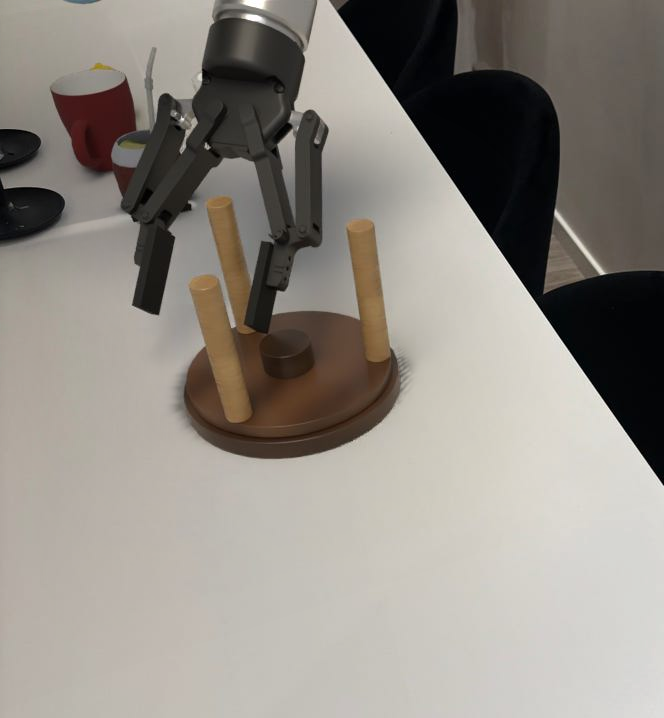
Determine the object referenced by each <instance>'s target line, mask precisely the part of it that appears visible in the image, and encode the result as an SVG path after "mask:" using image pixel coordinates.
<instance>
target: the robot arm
mask: <svg viewBox="0 0 664 718" xmlns="http://www.w3.org/2000/svg"><path fill="white" fill-rule="evenodd" d="M63 1H64V2H67V3H70V4H77V5H88V4H95V3H99V2H100V1H102V0H63ZM317 7H318V0H214V3H213V8H212V11H211V12H212V13H211V18H212V21H213V23H211V24H210V26H209V28H208V33H207V38H206V42H205V48H204V52H203V57H202V61H201V70H202V84H201V86H200V88H199V90H198V91H197V93H196V92H195V94H194V96H193V97H192V98H174V97H173V96H172V95H171V94H170V93H168V92H164V93H162V94H161V95H160V96H159V97H158V101H157V108H156V119H155V125H154V127H153V130H152V132H151V134H150V137H149V139H148V141H147V144H146V146H145V148H144V150H143V153H142V155H141V157H140V160H139V162H138V164H137V167H136V169H135V171H134V174H133V176H132V178H131V180H130V183H129V185H128V187H127V190H126V192H125V194H124V197H122V199H121V202H120V209H121V210H122V211H123V212H125V213H126V214H128V215H129V216H130V217H131V216H132V217H134V218H136V219H137V220H138V221H137V222H138V223H139V231H138V236H137V240H136V245H135V250H134V254H133V263H134V265H136V266H138V267H139V269H138V273H137V274H138V275H137V279H136V282H135V283H136V284H135V289H134V294H133V298H132V302H131V306H132V307H134V308H137V309H138V310H141V311H143V312H145V313H147V314H150V315H154V316H160V313H161V309H162V303H163V299H164V294H165V290H166V285H167V279H168V275H169V270H170V266H171V263H172V262H171V261H172V258H173V257H172V255H173V251H174V247H175V242H176V235H174V234H173V232H171V231H170V230H169V229H170V227H171V226H172V225H173V223H174V221H175V220H176V219H177V217H178V216H179V214H181V213H182V212H181V210H182V209H183V208H184V206H185V205H186V203H187V202H188V203H189V201H190V199H191V198H192V196H193V195H194V194H195V192H197V190H198V188H199V187H200V185H201V184H202V183H203V181H204V180H205V178H206V177H207V176H208V174H209V173H210V171H211V170H212V169H214V168H215V169H216V168H217V167H219V166H220V164H221V163H222V161H223V160H224V159H229V160H234V159H244V160H246V161H247V162H251V163H252V162H253V163H254V167H255V171H256V175H257V181H258V183H259V184H258V185H259V187H260V191H261V196H262V200H263V205H264V209H265V212H266V216H267V220H268V225H269V229H270V233H268V237H269V238H270V239H271V240H272V241H273V243H272V242H271V241H268V240H267V241H266V240H261V241H260V245H259V250H258V255H257V258H256V262H255V263H256V264H255V268H254V274H253V278H252V281H251V284H252V287H251V292H250V296H249V301H248V306H247V310H246V315H245V320H244V325H246V326H248V327H250V328H251V329H253V330H255V331H257V332H259V333H264V334H268V332H269V327H270V322H271V318H272V315H273V312H274V309H275V308H274V307H275V302H276V298H277V294H278V292H284V293H285V292H286V291H287V289H288V287H289V285H290V279H291V276H292V275H291V273H292V269H293V265H294V260H295V256H296V255H297V252H298V251H300V250H301V249H305V248H309V247H310V248H313V249H317V248H319V247H320V246H321V245H322V244H323V151H324V148H325V145H326V141H327V139H328V135H329V132H330V129H329V126H328V125H327V124H326V123H325V121H324V120H323V118H321V116H320V115H319V114H318V112H316V111H315V109H307V110H305V111H304V112H300V111H297V110H296V109H295V102H296V101H297V99H298V97H299V93H300V90H301V89H300V88H301V85H302V78H303V74H304V70H305V65H306V57H305V54H304V53H306V51H307V50H308V48H309V45H310V44H309V43H310V40H311V35H312V30H313V25H314V20H315V16H316V11H317ZM193 119H195V120H196V123H197V124H196V125H195V126H194V127H193V126H192V121H193ZM192 127H193V129H192ZM191 129H192V130H191ZM189 130H191V132H190V133H189V135H188V136H187V137H186V132H187V131H189ZM290 132H292V136H293V138H294V139H295V142H294V196H295V198H294V200H295V201H294V202H295V204H294V205H295V206H294V207H295V209H294V210H295V213H294V214H293V211H292V206H291V202H290V198H289V194H288V190H287V186H286V182H285V178H284V173H283V170H284V165H283V161H282V157H281V153H280V150H279V146H278V145H279V144H280V143H281V142H282V141H283V140H284V139H285V138H286V136H287V135H288V134H290ZM185 137H186V140H185ZM184 141H185V148H184V149H183V151H182V152H181V148H182V146H183V143H184ZM206 145H207V146H208V147H209V148H208V149H207V148H206V147H205V146H206ZM179 151H180V153H181V155H180V156H179V158H178V159H177V160H176V158H177V155H178V153H179ZM175 160H176V162H175ZM174 162H175V163H174ZM180 212H181V213H180ZM294 215H295V217H294Z"/></svg>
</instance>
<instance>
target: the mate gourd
mask: <svg viewBox="0 0 664 718" xmlns="http://www.w3.org/2000/svg"><path fill="white" fill-rule="evenodd" d="M157 50H158V49H157V47H155V46H152V47H151V50H150V53H149V57H148V61H147V64H146V70H145V78H144V79H143V81H144V89H145V90H146V102H147V112H148V122H149V129H141V130H137V131H134V132H131V133H128V134H125V135H123V136H122V137H120V138H118V140H117V141H116V142H115V144H114V146H113V149H112V153H111V157H112V166H113V175H114V178H115V181H116V183H117V186H118V189H119V192H120V194H121V197H122V198H123V197H124V194H125V192H126V190H127V187H128V185H129V183H130V180H131V178H132V176H133V174H134V171H135V169H136V167H137V164H138V162H139V160H140V157H141V155H142V153H143V150H144V148H145V146H146V144H147V141H148V139H149V137H150V134H151V132H152V130H153V127H154V125H155V123H156V119H155V117H156V116H155V107H154V96H153V90H154V79H153V78H152V74H153V68H154V63H155V59H156V53H157ZM181 153H182V152H181V150H180V151H179V153H178V155H177V158H176V160H177V159H178V158H179V156H180V155H181ZM176 160H175V162H176ZM175 162H174V163H175ZM192 210H193V205H192V203H190V202H189V201H188V202H187V203H186V205H185V206H184V208H183V209H182V210H181V212H180V213H179V214H181V213H187V212H190V211H192ZM130 218H131V219H132V222H134V223H135V222H139V221H138V220H137V219H136V218H134V217H132V216H131V215H130Z"/></svg>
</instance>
